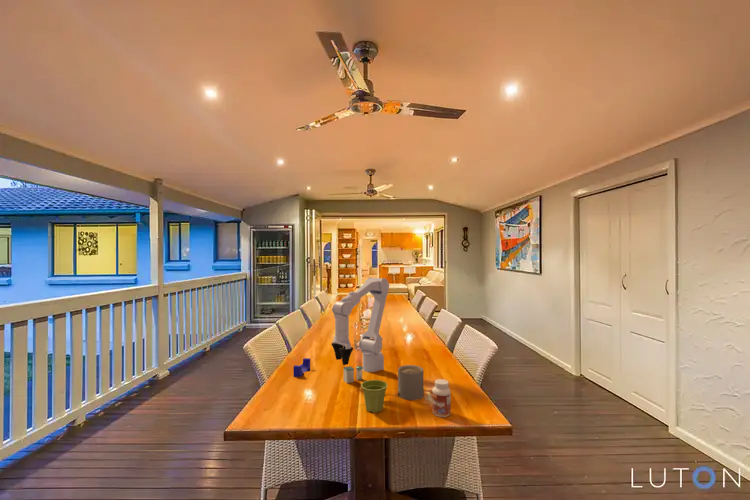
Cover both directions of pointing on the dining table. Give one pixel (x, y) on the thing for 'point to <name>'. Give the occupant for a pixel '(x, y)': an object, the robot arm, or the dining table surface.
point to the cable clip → (301, 368)
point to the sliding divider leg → (348, 374)
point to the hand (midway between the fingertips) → (342, 361)
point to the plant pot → (374, 394)
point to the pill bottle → (441, 398)
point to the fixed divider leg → (359, 372)
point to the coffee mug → (410, 382)
